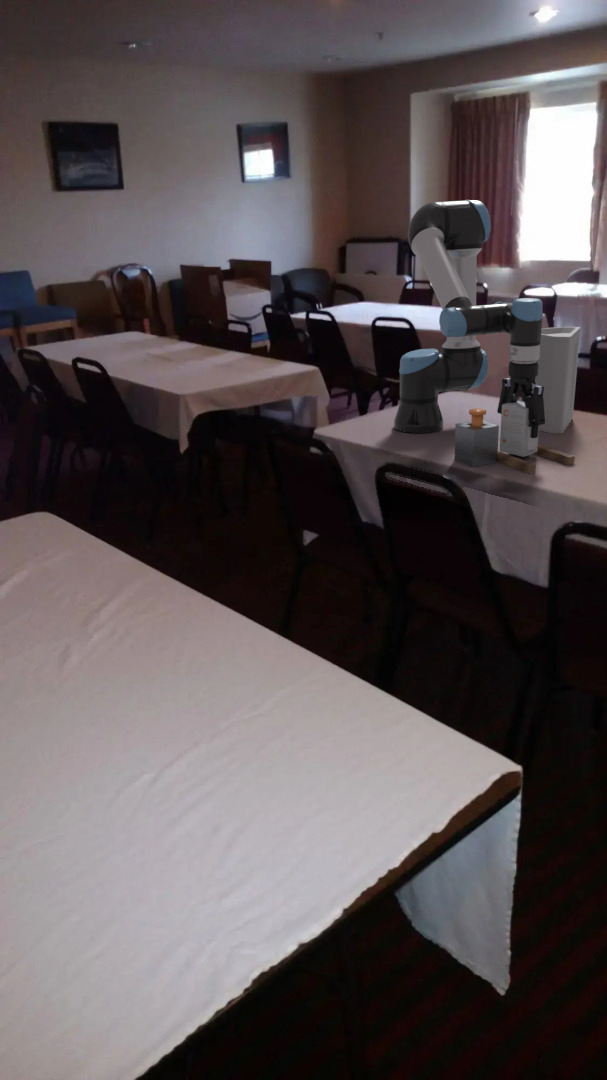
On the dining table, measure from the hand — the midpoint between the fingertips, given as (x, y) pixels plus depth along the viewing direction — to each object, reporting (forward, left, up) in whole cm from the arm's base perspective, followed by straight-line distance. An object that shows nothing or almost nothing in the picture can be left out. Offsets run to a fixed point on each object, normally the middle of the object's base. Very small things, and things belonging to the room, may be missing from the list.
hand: (518, 444), depth 217 cm
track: (+3, 0, -3) cm, 5 cm away
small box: (0, 0, -2) cm, 2 cm away
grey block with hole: (-3, -12, -3) cm, 13 cm away
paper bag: (-22, +28, -3) cm, 36 cm away
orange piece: (-3, -12, +4) cm, 13 cm away
